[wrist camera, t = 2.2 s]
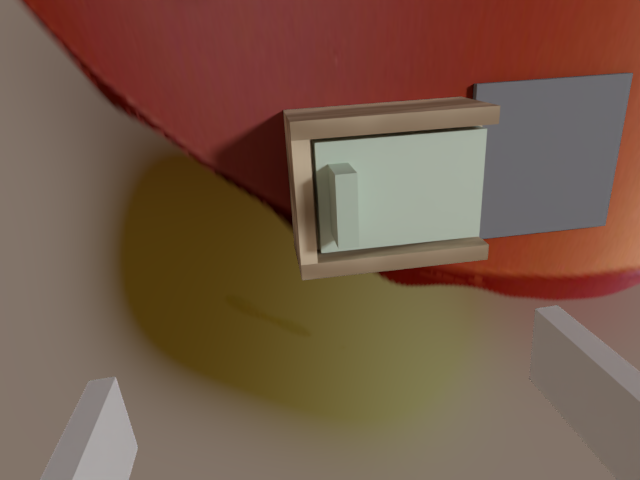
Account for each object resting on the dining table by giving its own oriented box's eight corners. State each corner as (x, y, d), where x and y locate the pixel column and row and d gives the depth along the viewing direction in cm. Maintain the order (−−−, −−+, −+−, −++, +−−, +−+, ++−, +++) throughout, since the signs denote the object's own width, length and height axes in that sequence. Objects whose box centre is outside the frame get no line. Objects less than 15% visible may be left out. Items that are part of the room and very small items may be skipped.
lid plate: (311, 138, 33) (320, 151, 29) (477, 125, 34) (509, 135, 30) (318, 245, 36) (327, 270, 32) (470, 228, 37) (498, 251, 33)
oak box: (283, 110, 36) (289, 121, 30) (460, 96, 37) (500, 105, 31) (294, 246, 40) (302, 280, 34) (453, 229, 41) (487, 259, 36)
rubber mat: (473, 83, 37) (477, 84, 36) (627, 72, 38) (633, 72, 38) (464, 238, 42) (466, 240, 41) (600, 223, 43) (605, 225, 43)
